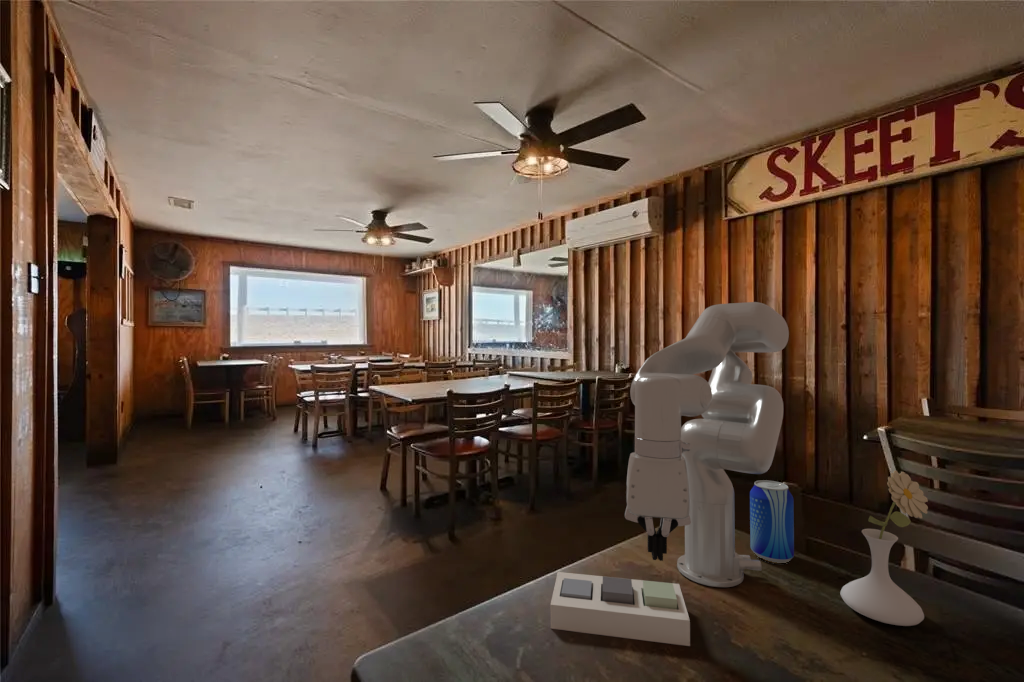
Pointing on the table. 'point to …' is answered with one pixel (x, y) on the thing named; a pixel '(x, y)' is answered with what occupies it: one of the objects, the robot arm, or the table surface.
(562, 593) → the slate key
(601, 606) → the keypad
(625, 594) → the charcoal key
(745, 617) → the table surface
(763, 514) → the beer can
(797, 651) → the table surface
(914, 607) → the flower in vase
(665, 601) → the sage key
